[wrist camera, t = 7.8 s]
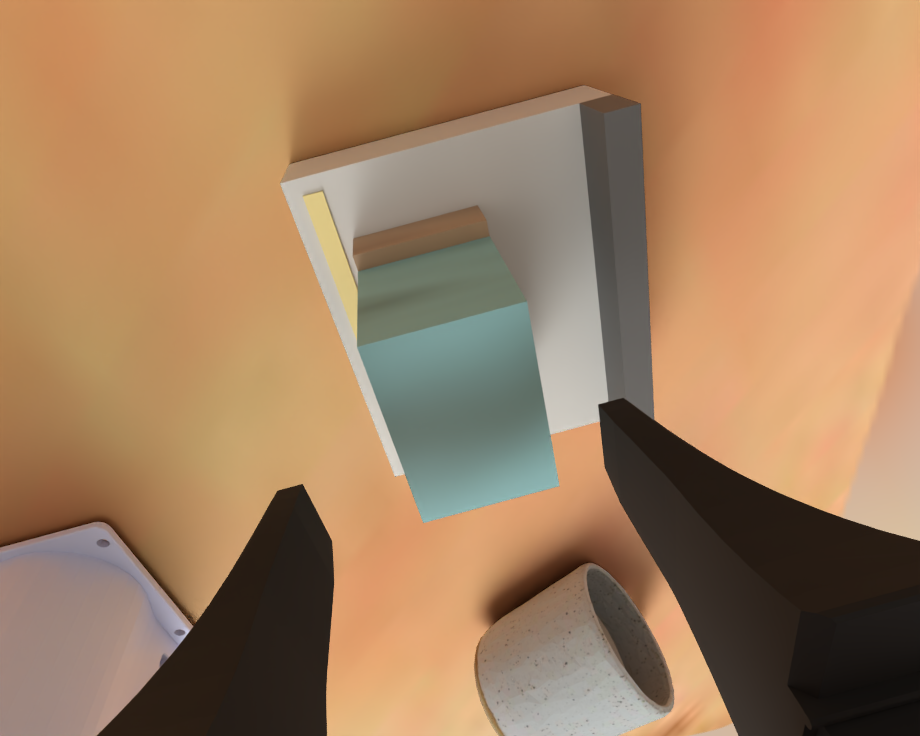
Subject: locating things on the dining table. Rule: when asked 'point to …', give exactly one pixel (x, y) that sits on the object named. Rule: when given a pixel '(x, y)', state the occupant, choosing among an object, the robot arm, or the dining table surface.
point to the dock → (509, 233)
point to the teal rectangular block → (453, 363)
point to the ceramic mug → (573, 663)
